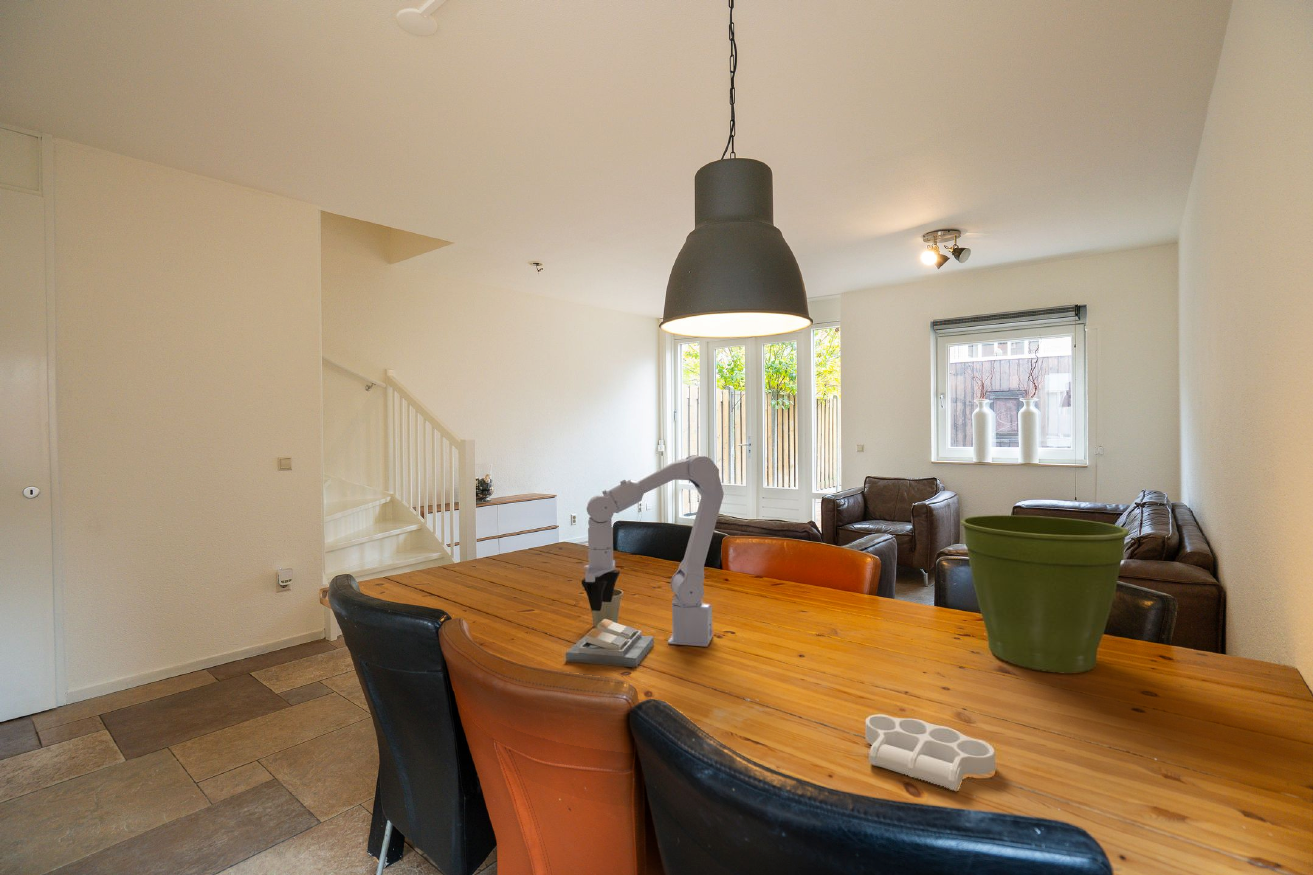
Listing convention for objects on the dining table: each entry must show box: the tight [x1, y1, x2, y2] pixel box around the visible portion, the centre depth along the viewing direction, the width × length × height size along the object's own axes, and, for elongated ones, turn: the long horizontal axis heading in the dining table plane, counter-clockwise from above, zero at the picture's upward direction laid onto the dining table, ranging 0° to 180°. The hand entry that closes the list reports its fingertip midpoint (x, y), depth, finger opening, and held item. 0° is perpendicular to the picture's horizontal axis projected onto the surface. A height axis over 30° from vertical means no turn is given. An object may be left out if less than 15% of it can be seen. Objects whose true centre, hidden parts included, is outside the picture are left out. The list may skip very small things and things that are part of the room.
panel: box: [565, 629, 655, 668], centre depth 133 cm, size 16×14×3 cm
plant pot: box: [960, 514, 1129, 674], centre depth 126 cm, size 30×30×29 cm
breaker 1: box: [585, 627, 627, 650], centre depth 130 cm, size 8×4×2 cm, turn 75°
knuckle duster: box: [864, 713, 996, 792], centre depth 88 cm, size 3×18×15 cm
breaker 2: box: [596, 619, 637, 640], centre depth 137 cm, size 8×4×2 cm, turn 75°
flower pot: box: [590, 588, 624, 629], centre depth 153 cm, size 9×9×9 cm
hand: (601, 606), depth 138 cm, fingers open, 7 cm apart
